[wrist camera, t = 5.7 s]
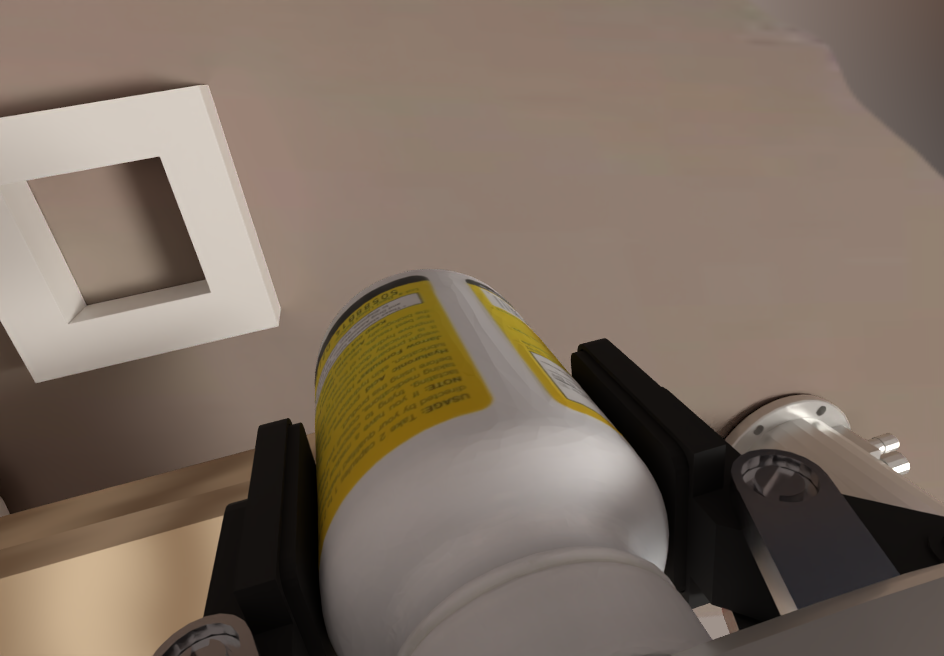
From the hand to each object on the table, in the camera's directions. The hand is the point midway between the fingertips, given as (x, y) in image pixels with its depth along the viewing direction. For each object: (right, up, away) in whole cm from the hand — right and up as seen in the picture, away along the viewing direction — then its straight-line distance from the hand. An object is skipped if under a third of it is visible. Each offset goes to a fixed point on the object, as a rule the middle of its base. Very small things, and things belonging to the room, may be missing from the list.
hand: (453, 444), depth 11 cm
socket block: (-17, +7, +16) cm, 24 cm away
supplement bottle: (-1, +2, +3) cm, 4 cm away
